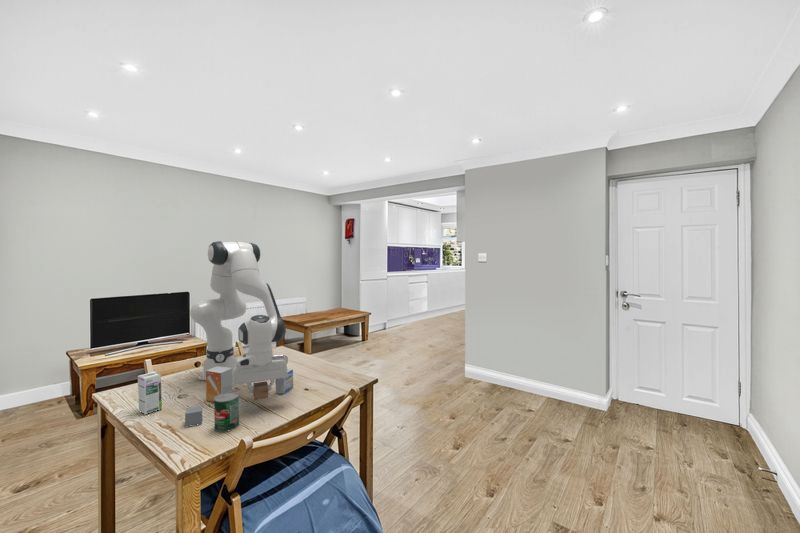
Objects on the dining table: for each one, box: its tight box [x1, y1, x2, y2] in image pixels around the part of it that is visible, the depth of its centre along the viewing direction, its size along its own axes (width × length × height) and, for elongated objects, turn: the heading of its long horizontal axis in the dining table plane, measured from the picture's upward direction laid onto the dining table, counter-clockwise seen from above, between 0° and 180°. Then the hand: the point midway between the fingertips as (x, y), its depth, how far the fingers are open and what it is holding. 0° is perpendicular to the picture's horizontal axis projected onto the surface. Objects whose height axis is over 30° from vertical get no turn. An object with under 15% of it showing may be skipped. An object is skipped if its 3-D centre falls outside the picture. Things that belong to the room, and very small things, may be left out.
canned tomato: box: [213, 391, 240, 433], centre depth 123 cm, size 8×8×11 cm
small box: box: [205, 366, 234, 403], centre depth 145 cm, size 8×6×13 cm
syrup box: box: [137, 371, 163, 415], centre depth 134 cm, size 6×6×14 cm
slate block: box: [184, 405, 203, 427], centre depth 126 cm, size 5×5×5 cm
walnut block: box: [253, 380, 269, 401], centre depth 137 cm, size 5×5×5 cm
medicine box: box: [274, 368, 294, 395], centre depth 155 cm, size 8×4×9 cm, turn 168°
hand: (260, 391), depth 137 cm, fingers closed on walnut block, 5 cm apart
